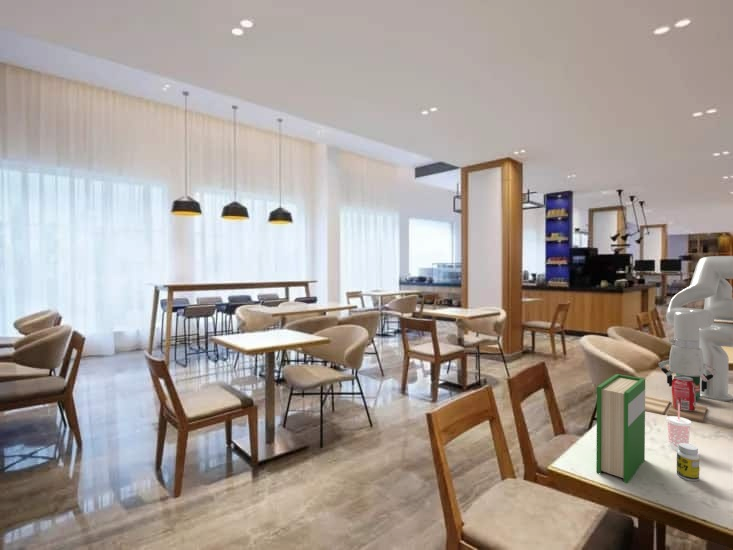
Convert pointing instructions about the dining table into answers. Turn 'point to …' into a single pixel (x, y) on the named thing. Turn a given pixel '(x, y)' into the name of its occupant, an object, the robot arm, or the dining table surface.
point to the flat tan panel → (656, 404)
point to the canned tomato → (697, 384)
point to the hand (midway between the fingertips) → (686, 388)
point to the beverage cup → (678, 430)
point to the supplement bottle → (688, 462)
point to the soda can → (683, 393)
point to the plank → (690, 413)
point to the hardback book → (621, 426)
